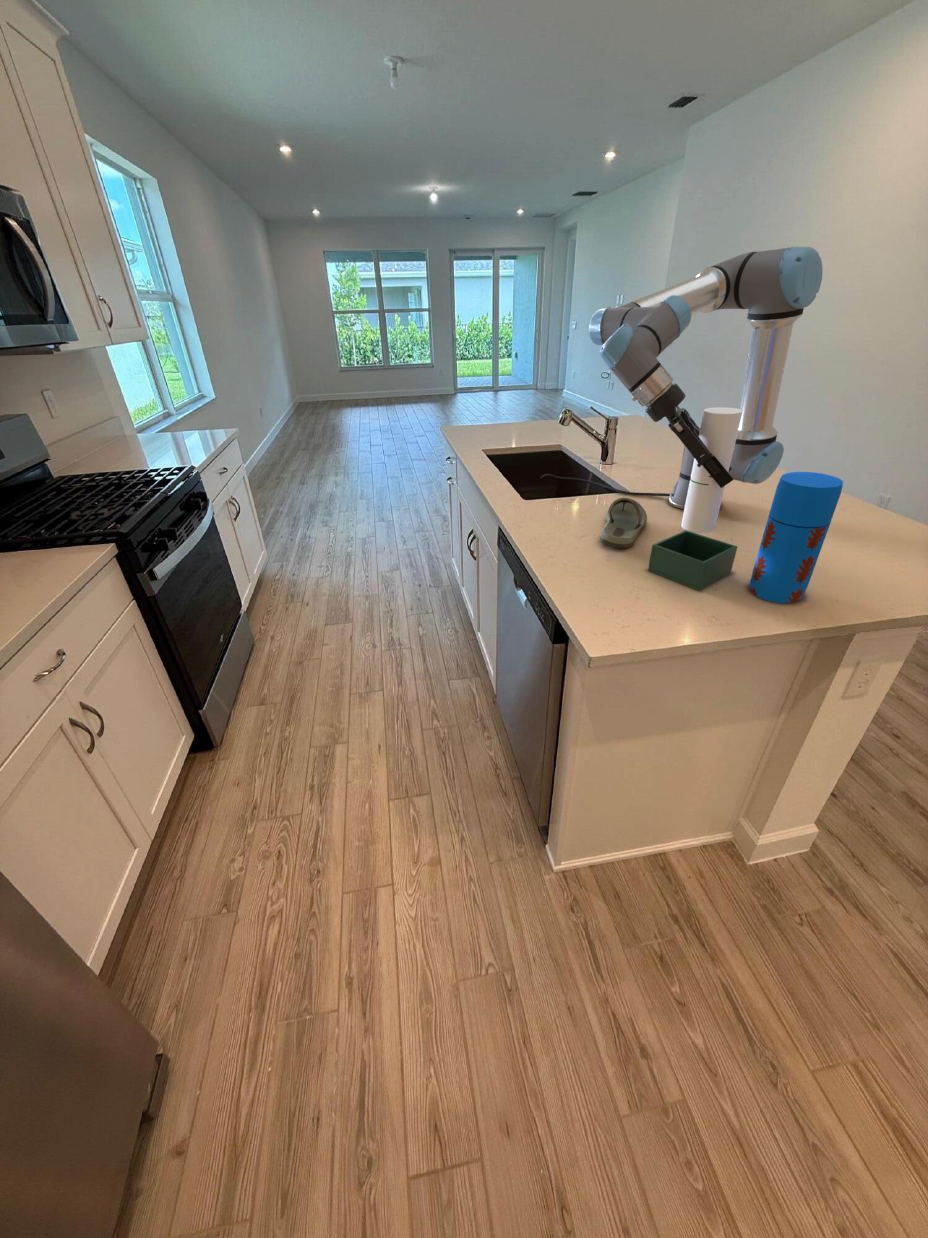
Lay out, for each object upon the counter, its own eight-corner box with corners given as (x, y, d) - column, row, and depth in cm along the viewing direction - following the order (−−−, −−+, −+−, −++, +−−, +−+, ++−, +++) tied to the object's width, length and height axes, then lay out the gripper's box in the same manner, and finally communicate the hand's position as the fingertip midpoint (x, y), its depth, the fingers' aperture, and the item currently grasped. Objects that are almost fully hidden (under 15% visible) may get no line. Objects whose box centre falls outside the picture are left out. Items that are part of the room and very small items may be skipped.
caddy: (647, 570, 123) (652, 544, 119) (680, 554, 129) (685, 529, 126) (698, 590, 114) (704, 563, 110) (730, 572, 120) (737, 546, 116)
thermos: (738, 582, 116) (768, 473, 103) (783, 578, 116) (818, 469, 103) (766, 605, 107) (803, 489, 94) (815, 601, 107) (858, 485, 94)
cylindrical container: (718, 533, 112) (746, 413, 99) (683, 532, 113) (707, 413, 100) (711, 521, 118) (737, 407, 104) (678, 520, 119) (701, 407, 106)
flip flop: (610, 511, 158) (613, 484, 153) (650, 515, 153) (654, 488, 149) (588, 547, 136) (591, 517, 131) (634, 553, 131) (638, 523, 127)
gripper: (647, 400, 115) (709, 476, 118) (639, 417, 99) (710, 504, 103) (676, 374, 111) (740, 454, 114) (672, 388, 95) (746, 480, 98)
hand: (726, 477), depth 108 cm, fingers closed on cylindrical container, 7 cm apart
